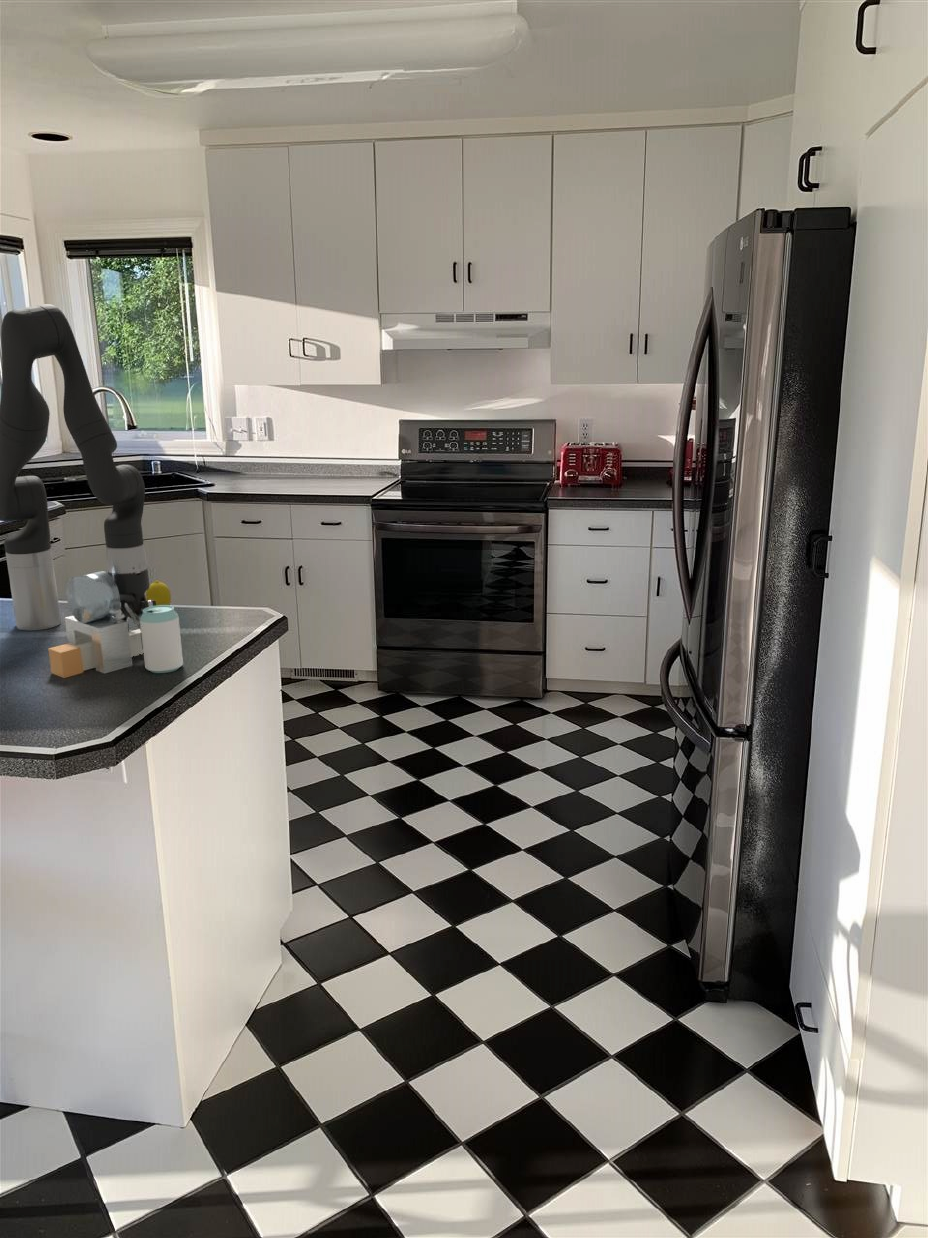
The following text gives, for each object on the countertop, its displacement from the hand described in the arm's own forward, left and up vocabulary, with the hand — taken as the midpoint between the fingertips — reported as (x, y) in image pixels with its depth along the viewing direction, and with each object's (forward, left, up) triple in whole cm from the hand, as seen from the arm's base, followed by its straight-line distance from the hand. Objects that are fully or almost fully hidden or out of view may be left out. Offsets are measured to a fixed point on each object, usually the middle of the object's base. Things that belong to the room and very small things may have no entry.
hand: (136, 645), depth 196 cm
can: (+13, -2, -2) cm, 13 cm away
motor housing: (0, -8, -2) cm, 8 cm away
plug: (0, -7, -2) cm, 8 cm away
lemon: (-22, +20, -2) cm, 30 cm away
